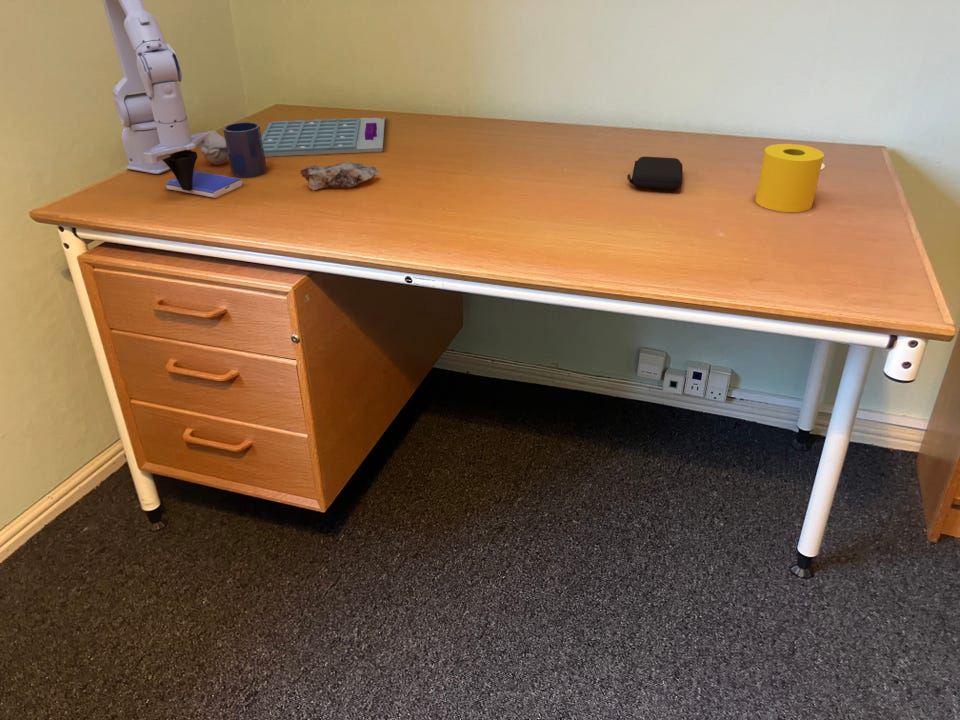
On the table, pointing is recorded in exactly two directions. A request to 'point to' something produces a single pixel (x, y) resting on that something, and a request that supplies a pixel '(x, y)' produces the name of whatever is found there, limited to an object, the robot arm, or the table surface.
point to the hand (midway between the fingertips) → (187, 189)
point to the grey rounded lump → (215, 148)
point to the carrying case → (657, 174)
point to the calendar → (323, 136)
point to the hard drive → (207, 184)
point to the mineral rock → (338, 175)
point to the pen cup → (245, 149)
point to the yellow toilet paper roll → (789, 177)
